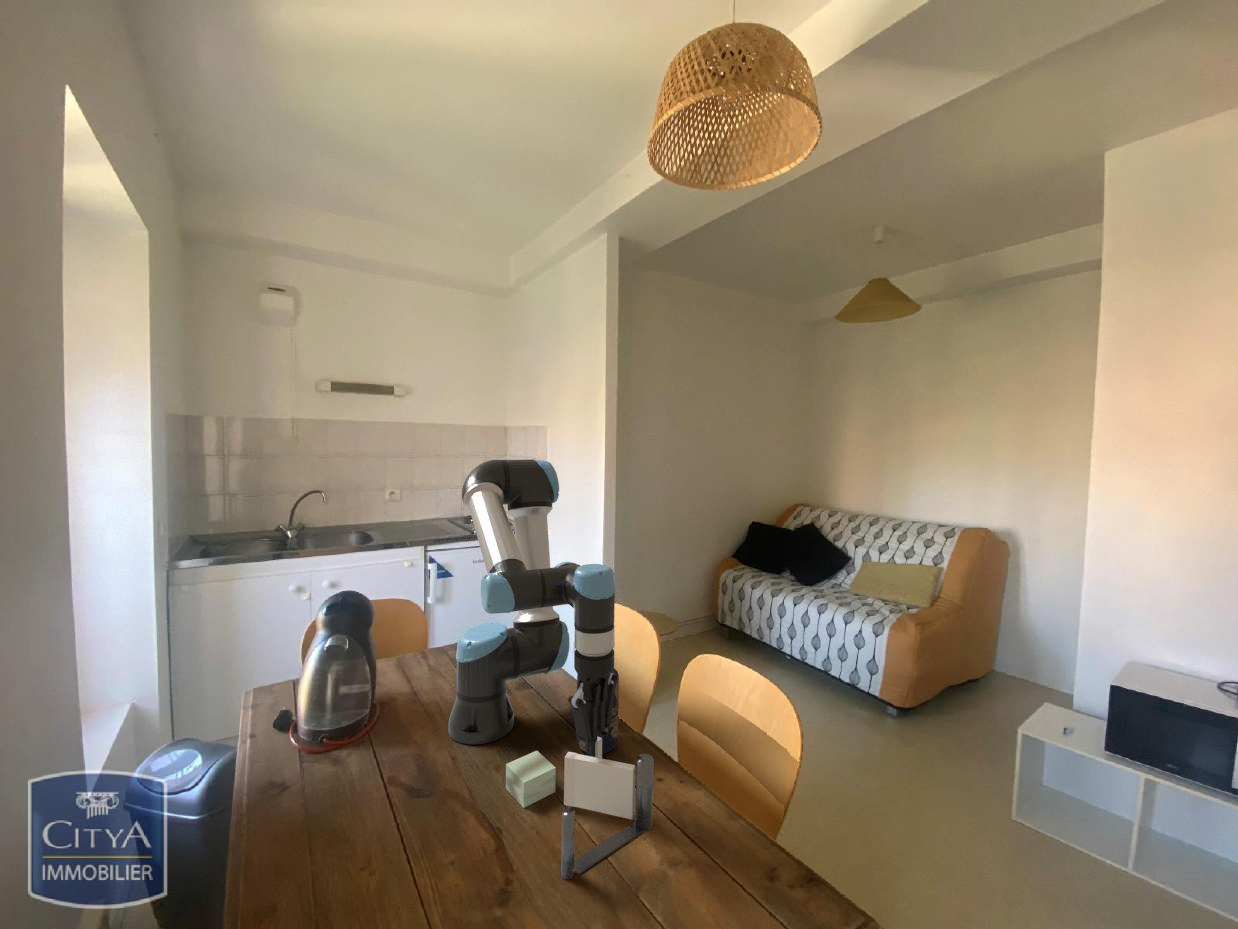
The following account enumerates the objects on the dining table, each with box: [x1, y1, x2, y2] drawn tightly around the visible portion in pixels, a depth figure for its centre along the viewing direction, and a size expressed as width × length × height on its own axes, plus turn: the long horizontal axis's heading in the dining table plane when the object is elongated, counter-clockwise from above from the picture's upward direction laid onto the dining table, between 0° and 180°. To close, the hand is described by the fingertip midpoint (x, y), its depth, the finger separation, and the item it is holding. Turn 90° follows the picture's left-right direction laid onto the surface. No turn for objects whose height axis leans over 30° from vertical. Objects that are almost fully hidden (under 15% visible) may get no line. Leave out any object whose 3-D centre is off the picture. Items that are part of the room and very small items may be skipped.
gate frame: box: [560, 753, 655, 881], centre depth 84 cm, size 3×19×12 cm, turn 131°
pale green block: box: [505, 750, 557, 809], centre depth 98 cm, size 7×7×5 cm
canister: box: [575, 667, 620, 755], centre depth 112 cm, size 10×10×18 cm
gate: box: [563, 751, 636, 820], centre depth 91 cm, size 13×2×9 cm, turn 74°
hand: (594, 770), depth 95 cm, fingers closed
